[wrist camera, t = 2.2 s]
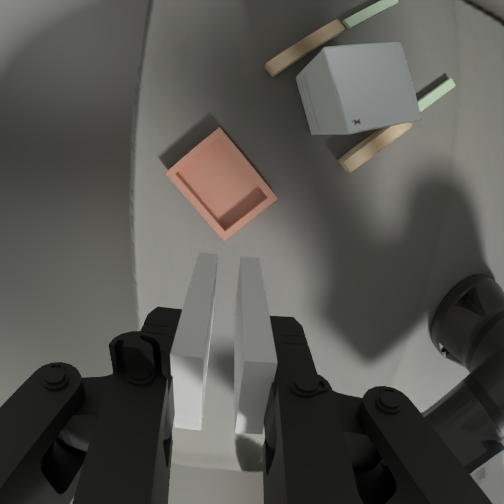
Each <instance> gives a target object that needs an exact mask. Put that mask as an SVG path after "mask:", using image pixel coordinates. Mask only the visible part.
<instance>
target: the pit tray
mask: <svg viewBox="0 0 504 504" xmlns="http://www.w3.org/2000/svg"><path fill="white" fill-rule="evenodd" d="M165 174H166V175H167V176H168V177H169V178H170V180H171V181H172V182H173V183H174V184H175V185H176V186H177V188H178V189H179V190H180V191H181V192H182V193H183V195H184V196H185V197H186V198H187V199H188V200H189V201H190V203H191V204H192V205H193V206H194V207H195V208H196V210H197V211H198V212H199V213H200V214H201V215H202V216H203V218H204V219H205V220H206V221H207V222H208V223H209V224H210V226H211V227H212V228H213V229H214V230H215V231H216V232H217V234H218V235H219V236H220V237H221V238H222V239H223V240H224V241H225V240H226V239H227V238H229V237H230V236H231V235H233V234H234V233H235V232H236V231H238V230H239V229H240V228H241V227H243V226H244V225H245V224H247V223H248V222H249V221H250V220H252V219H253V218H254V217H255V216H257V215H258V214H259V213H261V212H262V211H263V210H264V209H266V208H267V207H268V206H270V205H271V204H272V203H274V202H275V201H276V200H277V199H278V198H277V196H276V195H275V194H274V192H273V191H272V190H271V189H270V187H269V186H268V185H267V184H266V182H265V181H264V180H263V179H262V177H261V176H260V175H259V174H258V173H257V171H256V170H255V169H254V168H253V166H252V165H251V164H250V163H249V161H248V160H247V159H246V158H245V157H244V155H243V154H242V153H241V152H240V151H239V149H238V148H237V147H236V146H235V145H234V143H233V142H232V141H231V140H230V139H229V137H228V136H227V135H226V134H225V133H224V131H223V130H222V129H221V128H220V127H219V128H218V129H216V130H215V131H214V132H213V133H212V134H210V135H209V136H208V137H207V138H205V139H204V140H203V141H202V142H201V143H199V144H198V145H197V146H196V147H195V148H193V149H192V150H191V151H190V152H189V153H188V154H186V155H185V156H184V157H183V158H182V159H181V160H179V161H178V162H177V163H176V164H175V165H174V166H173V167H171V168H170V169H169V170H168V171H167V172H166V173H165Z"/></svg>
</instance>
